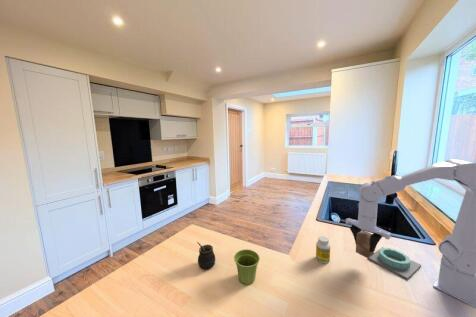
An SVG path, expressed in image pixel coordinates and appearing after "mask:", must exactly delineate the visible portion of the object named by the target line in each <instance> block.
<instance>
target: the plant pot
mask: <svg viewBox="0 0 476 317" xmlns="http://www.w3.org/2000/svg"><path fill="white" fill-rule="evenodd" d="M233 259H234V262H235V264H236V269H237V275H238V280H239V282H240V283H241V284H244V285H246V286H247V285H252V284H253V283H254V282H255V280H256V275H257V268H258V264H259V262H260V260H261V259H260V255H259V253H258V252H256V251H254V250H252V249H240V250H239V251H236V253H234V256H233Z"/></svg>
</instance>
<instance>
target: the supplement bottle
mask: <svg viewBox="0 0 476 317" xmlns="http://www.w3.org/2000/svg"><path fill="white" fill-rule="evenodd" d="M329 242H330V239H329V238H328V237H326V236H322V235H319V236H318V238H317V241H316V244H315V249H316V250H315V258H316V261H317V262H319V263H321V264H329V263H330V260H331V258H330V257H331V244H330V243H329Z"/></svg>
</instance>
